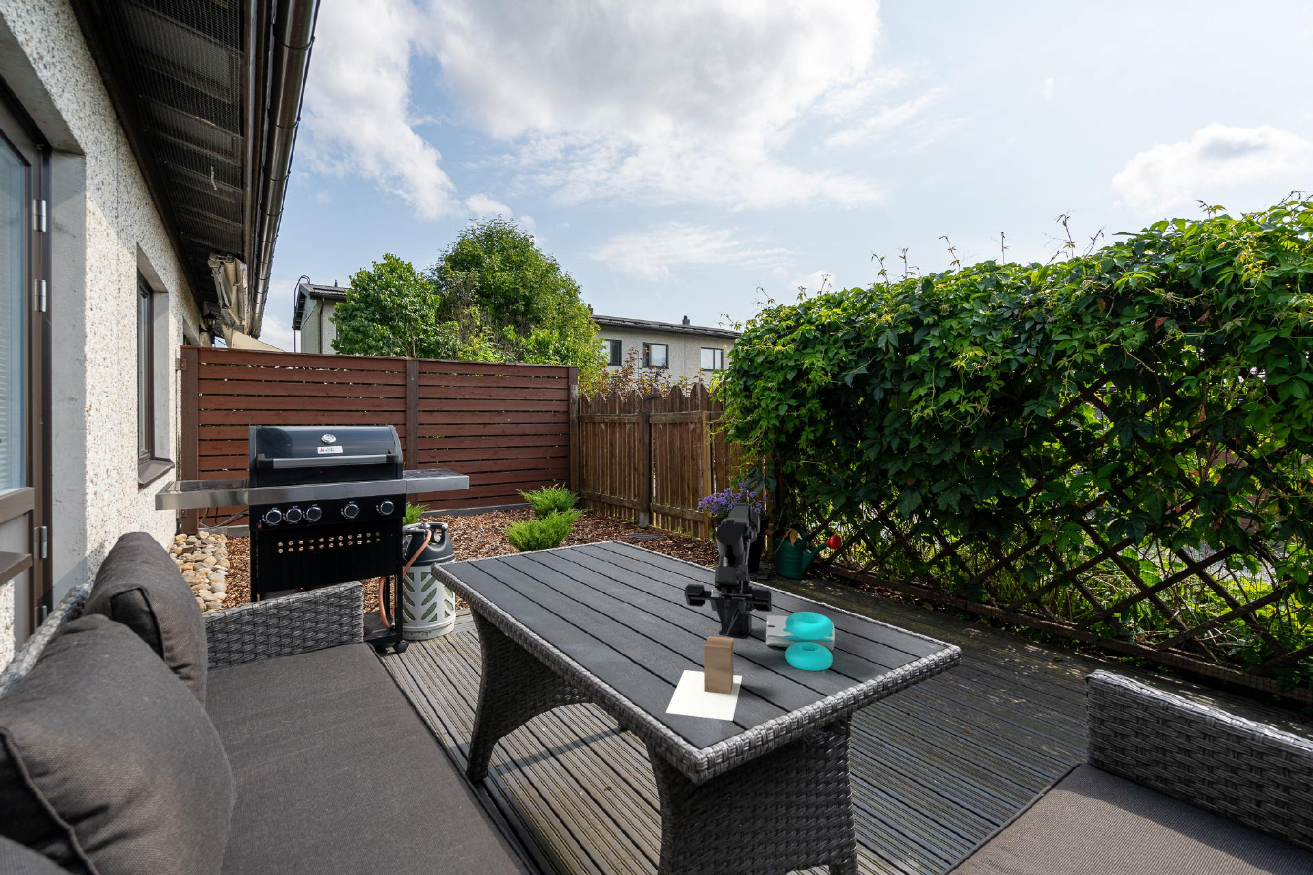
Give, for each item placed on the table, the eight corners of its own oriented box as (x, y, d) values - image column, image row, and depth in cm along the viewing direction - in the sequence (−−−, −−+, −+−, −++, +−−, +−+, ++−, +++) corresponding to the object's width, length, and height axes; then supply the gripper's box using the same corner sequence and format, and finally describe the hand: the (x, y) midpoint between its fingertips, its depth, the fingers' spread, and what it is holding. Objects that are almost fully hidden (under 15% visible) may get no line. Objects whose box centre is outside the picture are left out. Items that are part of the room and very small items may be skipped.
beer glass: (830, 648, 141) (765, 642, 143) (831, 618, 142) (766, 612, 144) (834, 654, 134) (765, 648, 136) (835, 622, 135) (767, 616, 137)
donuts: (792, 626, 124) (780, 610, 134) (792, 674, 125) (779, 654, 135) (840, 625, 125) (824, 609, 135) (839, 673, 125) (823, 653, 135)
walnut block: (708, 680, 121) (708, 636, 121) (733, 682, 120) (733, 638, 119) (704, 691, 116) (704, 645, 116) (730, 694, 115) (730, 648, 114)
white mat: (684, 672, 126) (684, 670, 126) (742, 678, 123) (742, 675, 123) (665, 715, 108) (665, 712, 108) (732, 723, 105) (732, 720, 105)
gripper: (686, 547, 133) (675, 613, 123) (771, 552, 129) (768, 620, 119) (692, 573, 142) (683, 637, 131) (773, 578, 137) (770, 644, 127)
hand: (724, 634), depth 127 cm, fingers closed
